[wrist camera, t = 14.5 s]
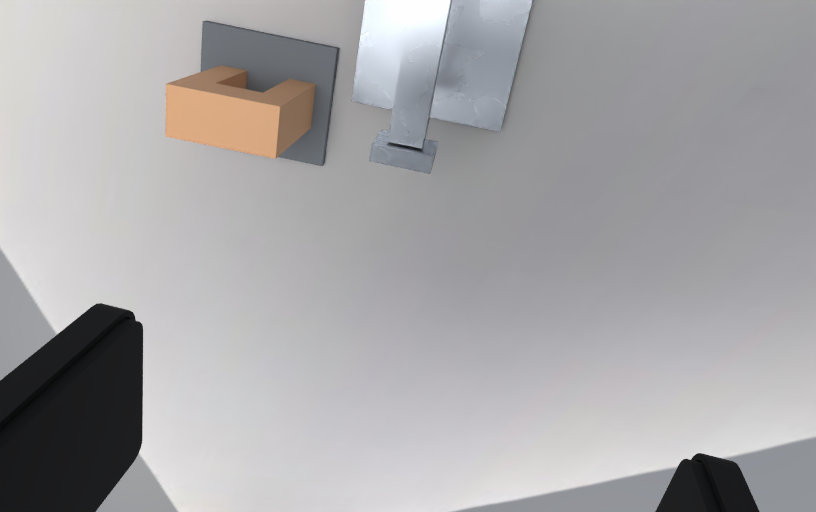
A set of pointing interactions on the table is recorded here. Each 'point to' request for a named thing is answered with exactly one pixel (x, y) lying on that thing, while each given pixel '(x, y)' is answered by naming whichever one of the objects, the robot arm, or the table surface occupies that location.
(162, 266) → the table surface
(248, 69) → the mat
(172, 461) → the table surface
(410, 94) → the stand
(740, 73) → the table surface
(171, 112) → the c link
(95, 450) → the robot arm
